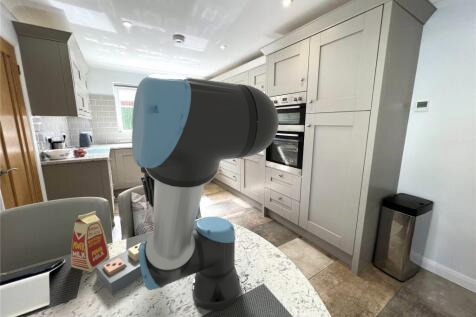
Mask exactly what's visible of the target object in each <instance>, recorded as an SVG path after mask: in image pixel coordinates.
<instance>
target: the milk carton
mask: <svg viewBox="0 0 476 317" xmlns="http://www.w3.org/2000/svg"><path fill="white" fill-rule="evenodd" d="M96 212H97V211H96V210H95V211H94V210H93V211H92V212H89V213H85V214H81V215H77V217H78V218H77V220H76V221H75V222H74V227H73V233H72V238H71V251H70V259H71V261H70V262H71V268H74V269H77V270H78V269H79V270H82V271H87V272H91V273H92V272H93V271H94V270H96V266H97V265H99V264H101V263H103V262H105V261H107V260H108V258H109V259H110V257H111V255H110V251H109V246H108V241H107V238H106V237H107V236H106V234H105V231H104V228H103V225H102V222H101V220H100V218H99V217H98V216H97V215H96Z"/></svg>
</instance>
